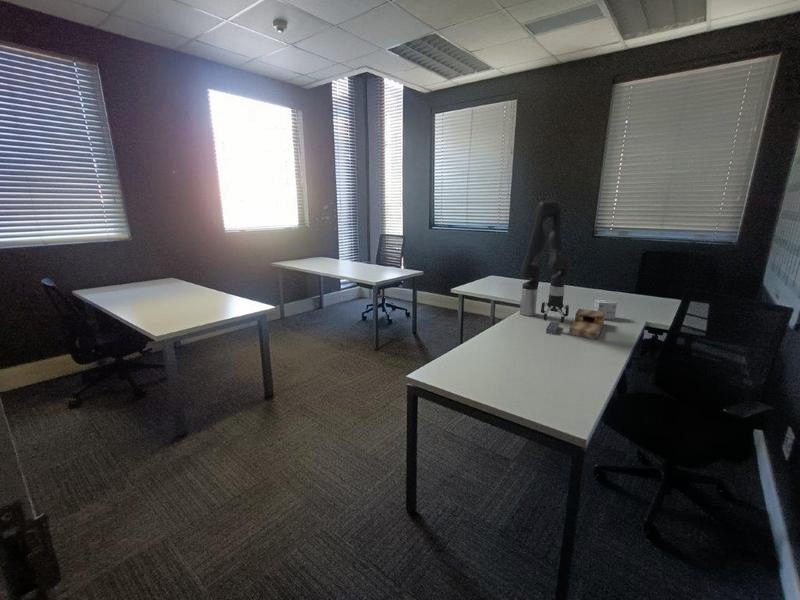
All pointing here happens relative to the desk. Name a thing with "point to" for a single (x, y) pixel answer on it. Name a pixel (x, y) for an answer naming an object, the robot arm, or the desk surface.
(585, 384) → the desk surface
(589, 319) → the wooden box
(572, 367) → the desk surface
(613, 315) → the light bulb box
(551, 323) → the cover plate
